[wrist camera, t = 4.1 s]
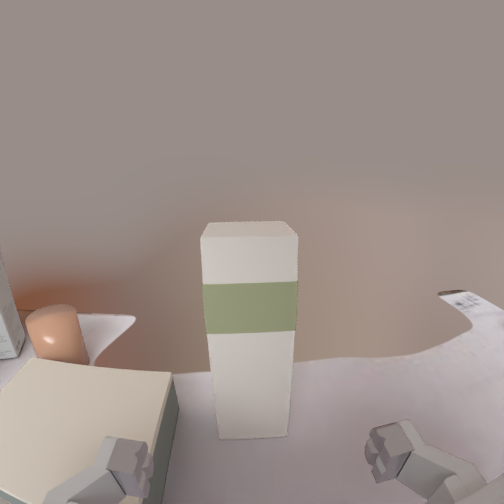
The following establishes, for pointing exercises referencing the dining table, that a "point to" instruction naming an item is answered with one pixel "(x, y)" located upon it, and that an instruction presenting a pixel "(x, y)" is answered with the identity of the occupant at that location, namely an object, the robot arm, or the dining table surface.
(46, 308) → the peach cylinder
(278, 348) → the carton
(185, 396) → the dining table surface
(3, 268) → the skincare box
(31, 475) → the podium
